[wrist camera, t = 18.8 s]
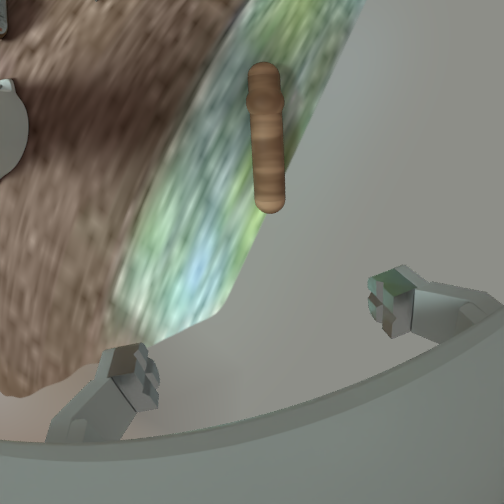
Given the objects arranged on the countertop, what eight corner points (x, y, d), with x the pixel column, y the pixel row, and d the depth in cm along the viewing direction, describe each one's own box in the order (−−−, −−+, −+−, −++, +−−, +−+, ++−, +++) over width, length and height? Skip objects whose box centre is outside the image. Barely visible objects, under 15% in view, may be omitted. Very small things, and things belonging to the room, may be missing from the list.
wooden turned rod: (288, 208, 47) (289, 218, 42) (253, 209, 47) (250, 219, 43) (281, 64, 38) (282, 56, 34) (245, 66, 39) (241, 58, 34)
